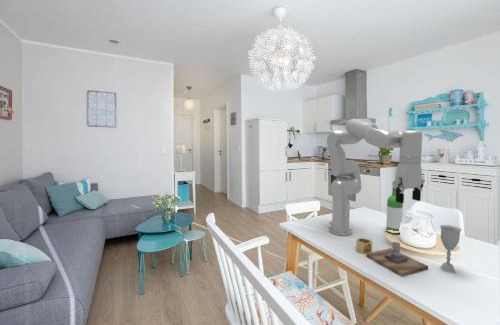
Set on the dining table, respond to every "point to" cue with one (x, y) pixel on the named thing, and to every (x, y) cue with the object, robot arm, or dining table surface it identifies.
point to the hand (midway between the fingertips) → (408, 201)
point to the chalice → (449, 244)
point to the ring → (364, 245)
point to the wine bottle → (393, 213)
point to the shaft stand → (397, 261)
